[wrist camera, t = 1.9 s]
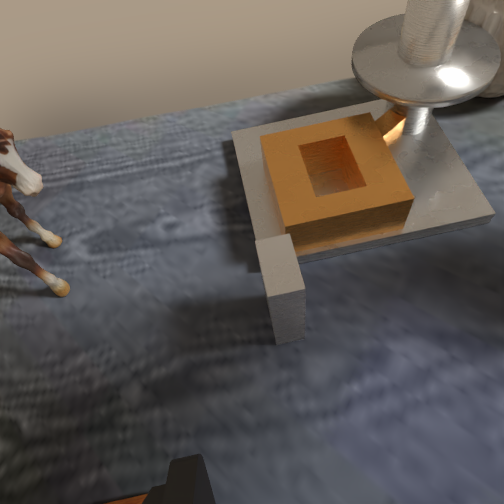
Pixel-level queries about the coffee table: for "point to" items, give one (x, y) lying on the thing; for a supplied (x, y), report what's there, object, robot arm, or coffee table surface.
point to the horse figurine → (30, 184)
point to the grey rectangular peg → (283, 287)
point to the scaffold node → (376, 143)
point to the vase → (499, 27)
